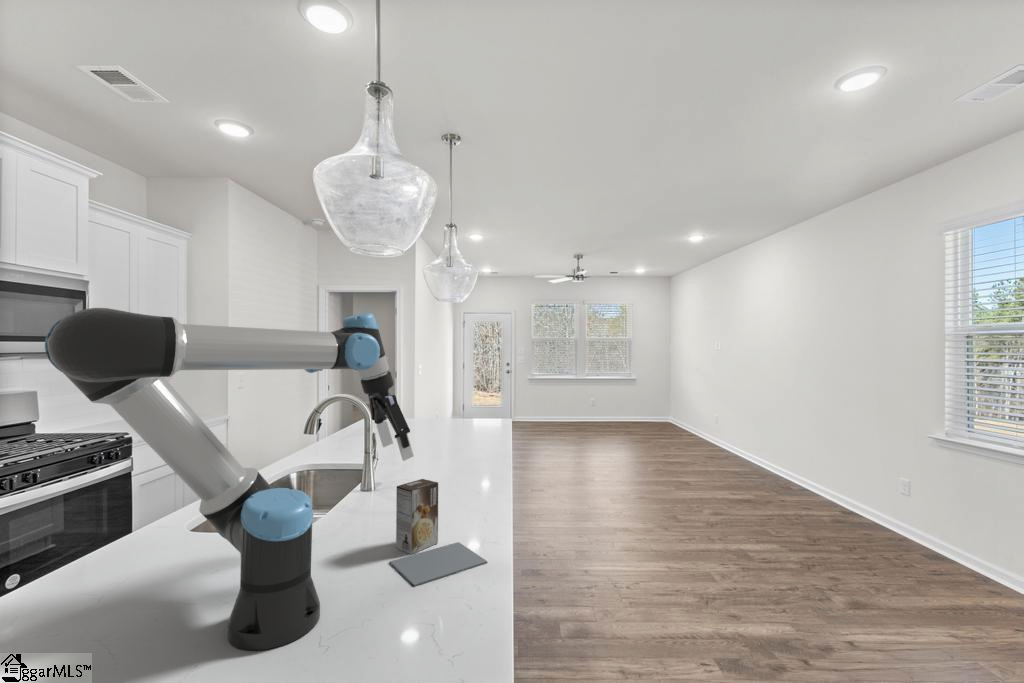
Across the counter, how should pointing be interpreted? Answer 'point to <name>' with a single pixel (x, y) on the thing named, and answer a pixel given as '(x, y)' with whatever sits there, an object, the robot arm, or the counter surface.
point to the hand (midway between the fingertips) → (397, 451)
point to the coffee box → (417, 515)
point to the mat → (437, 563)
